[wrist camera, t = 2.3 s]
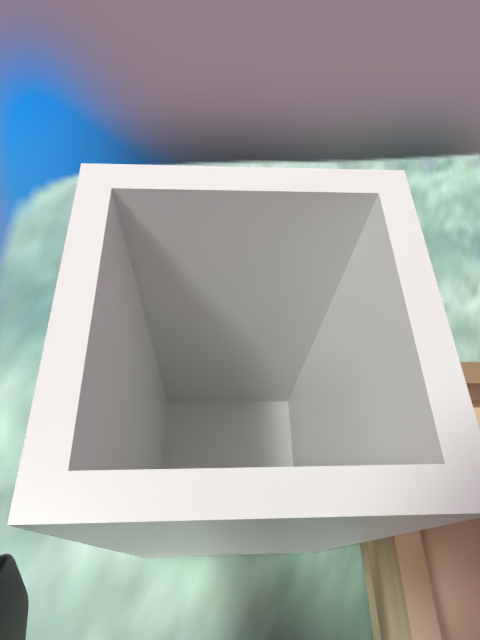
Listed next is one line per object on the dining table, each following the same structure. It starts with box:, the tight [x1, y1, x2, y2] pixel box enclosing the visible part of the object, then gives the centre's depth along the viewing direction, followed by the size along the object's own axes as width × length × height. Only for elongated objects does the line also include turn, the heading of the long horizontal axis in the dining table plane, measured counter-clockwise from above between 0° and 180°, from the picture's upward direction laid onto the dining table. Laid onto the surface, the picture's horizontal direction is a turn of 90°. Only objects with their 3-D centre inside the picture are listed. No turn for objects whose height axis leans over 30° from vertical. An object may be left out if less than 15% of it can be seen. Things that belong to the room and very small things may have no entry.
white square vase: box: [7, 164, 480, 558], centre depth 12 cm, size 6×6×12 cm
